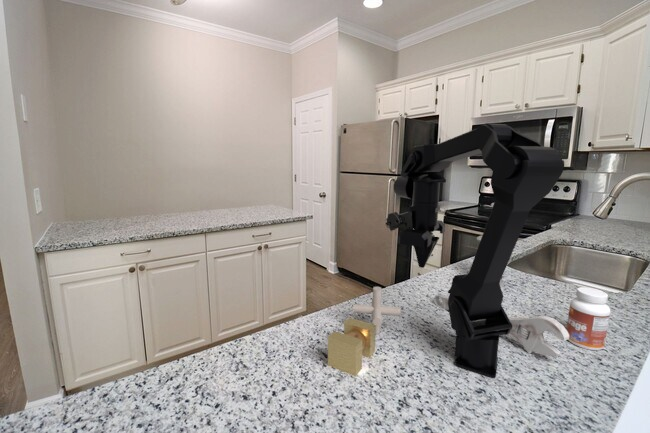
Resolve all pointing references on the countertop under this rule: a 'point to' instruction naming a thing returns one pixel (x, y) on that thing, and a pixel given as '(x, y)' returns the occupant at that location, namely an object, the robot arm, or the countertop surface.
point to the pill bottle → (588, 319)
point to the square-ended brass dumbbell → (351, 346)
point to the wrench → (528, 331)
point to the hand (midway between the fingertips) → (421, 267)
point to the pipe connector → (377, 309)
